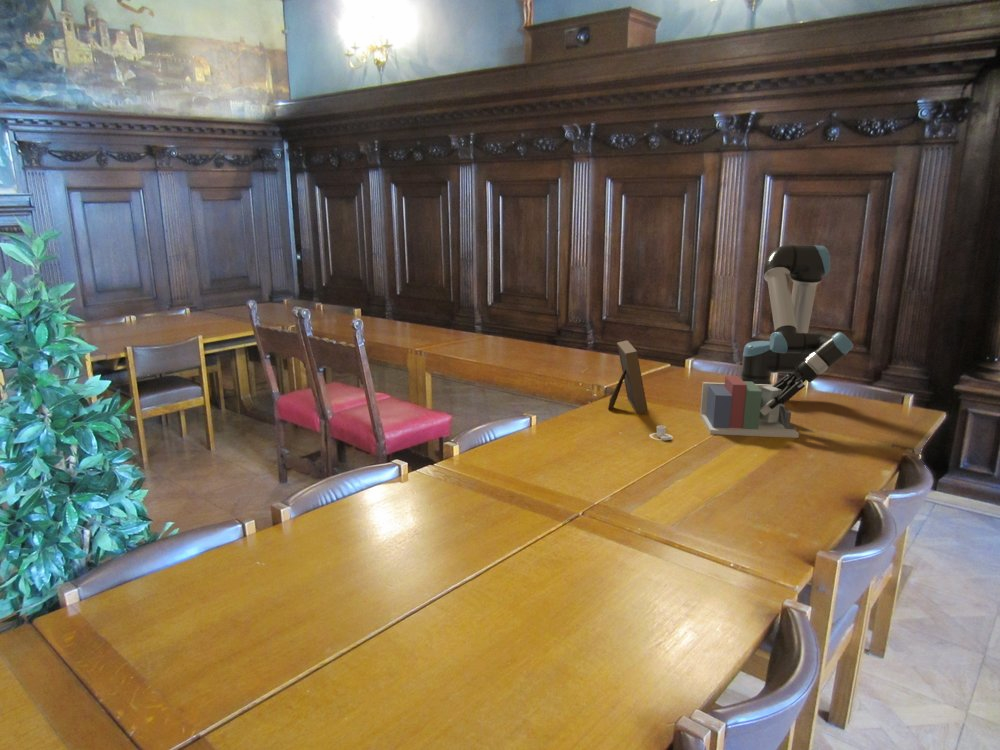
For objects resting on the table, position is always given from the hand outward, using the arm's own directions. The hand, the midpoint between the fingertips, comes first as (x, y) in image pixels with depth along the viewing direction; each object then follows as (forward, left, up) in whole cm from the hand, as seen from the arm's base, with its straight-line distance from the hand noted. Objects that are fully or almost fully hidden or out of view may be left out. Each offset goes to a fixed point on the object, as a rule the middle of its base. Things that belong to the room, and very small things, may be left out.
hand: (759, 409), depth 243 cm
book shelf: (0, -4, -7) cm, 8 cm away
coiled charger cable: (+18, -38, -7) cm, 43 cm away
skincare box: (0, +3, -4) cm, 5 cm away
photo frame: (-21, -47, -7) cm, 52 cm away
